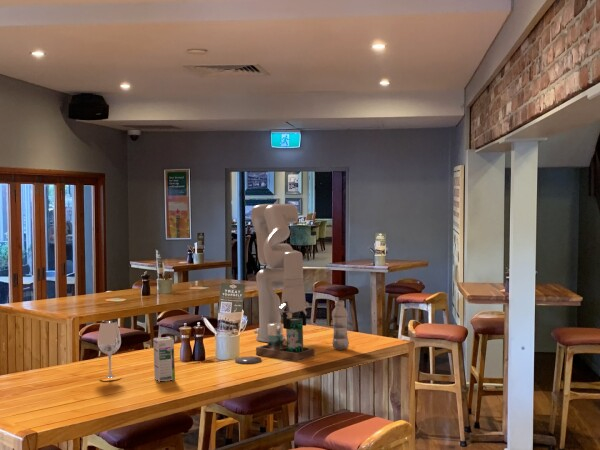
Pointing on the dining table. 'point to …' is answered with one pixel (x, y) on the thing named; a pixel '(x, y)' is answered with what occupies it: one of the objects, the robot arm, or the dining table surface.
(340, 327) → the plastic bottle
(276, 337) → the can
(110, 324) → the wineglass
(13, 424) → the dining table surface
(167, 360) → the syrup box
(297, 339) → the can
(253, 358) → the slate coaster
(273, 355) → the brown wooden tray
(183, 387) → the dining table surface
